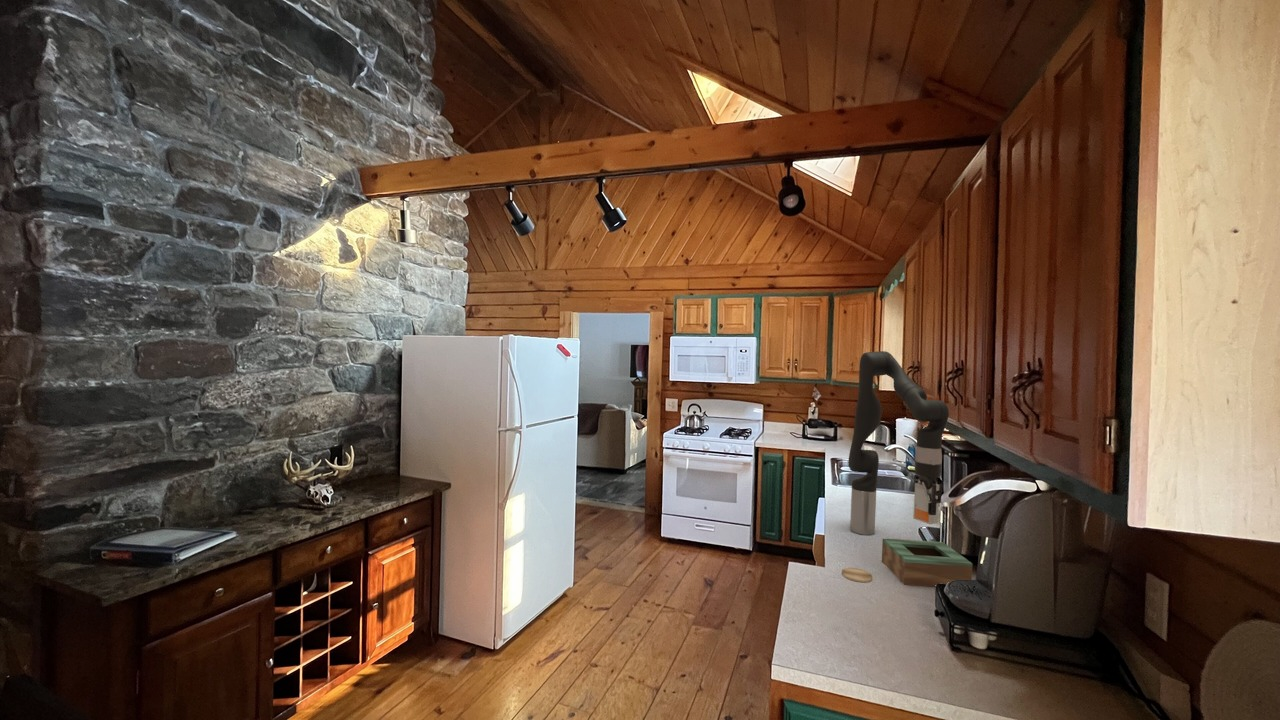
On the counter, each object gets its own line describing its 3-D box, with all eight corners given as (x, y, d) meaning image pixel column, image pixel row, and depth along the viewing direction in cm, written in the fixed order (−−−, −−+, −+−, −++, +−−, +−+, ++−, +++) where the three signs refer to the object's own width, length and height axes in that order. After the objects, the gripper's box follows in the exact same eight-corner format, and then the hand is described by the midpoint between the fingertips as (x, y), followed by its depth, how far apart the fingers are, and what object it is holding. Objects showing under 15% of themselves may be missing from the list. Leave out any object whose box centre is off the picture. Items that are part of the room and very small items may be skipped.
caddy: (881, 561, 177) (882, 538, 177) (941, 565, 175) (942, 542, 175) (904, 584, 159) (905, 559, 159) (971, 589, 157) (972, 563, 157)
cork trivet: (838, 569, 169) (838, 566, 169) (866, 571, 168) (866, 568, 168) (847, 581, 160) (847, 578, 160) (876, 583, 159) (876, 580, 159)
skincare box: (912, 518, 169) (914, 483, 169) (921, 517, 171) (923, 482, 170) (929, 524, 163) (931, 487, 163) (938, 523, 165) (940, 486, 165)
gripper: (906, 455, 174) (904, 503, 174) (926, 465, 160) (924, 517, 160) (929, 457, 174) (927, 505, 174) (951, 466, 159) (949, 518, 159)
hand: (926, 510), depth 167 cm, fingers closed on skincare box, 7 cm apart
